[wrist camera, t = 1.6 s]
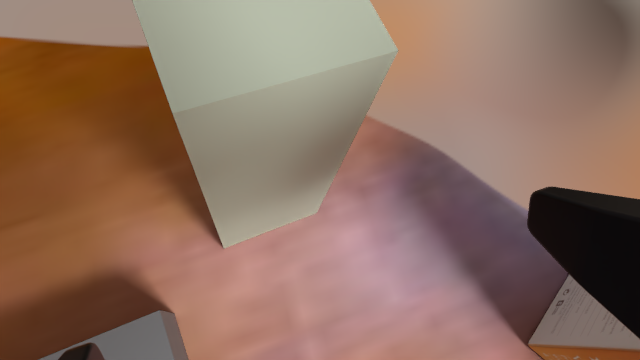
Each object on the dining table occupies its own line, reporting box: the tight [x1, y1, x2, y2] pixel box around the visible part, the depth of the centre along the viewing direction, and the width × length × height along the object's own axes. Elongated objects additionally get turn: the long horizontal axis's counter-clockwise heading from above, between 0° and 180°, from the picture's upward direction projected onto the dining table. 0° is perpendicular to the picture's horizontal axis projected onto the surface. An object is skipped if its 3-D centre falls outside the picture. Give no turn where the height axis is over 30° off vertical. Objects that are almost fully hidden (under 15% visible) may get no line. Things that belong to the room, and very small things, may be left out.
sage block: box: [132, 0, 398, 248], centre depth 15 cm, size 5×5×13 cm
